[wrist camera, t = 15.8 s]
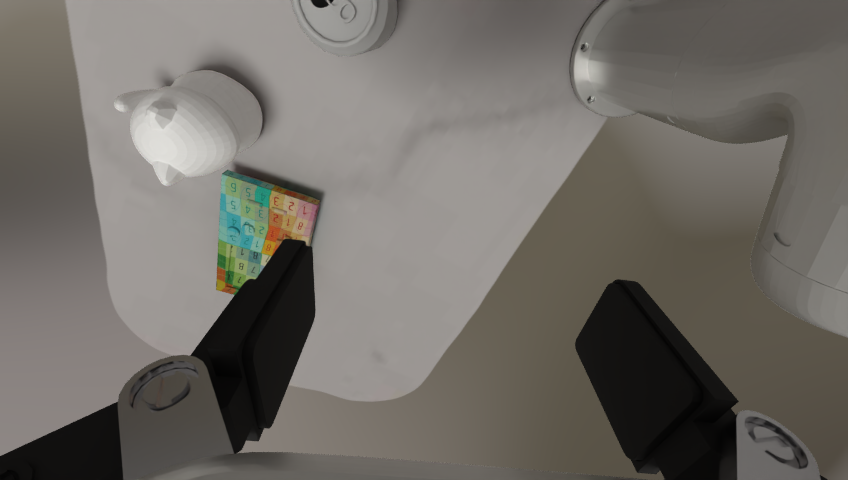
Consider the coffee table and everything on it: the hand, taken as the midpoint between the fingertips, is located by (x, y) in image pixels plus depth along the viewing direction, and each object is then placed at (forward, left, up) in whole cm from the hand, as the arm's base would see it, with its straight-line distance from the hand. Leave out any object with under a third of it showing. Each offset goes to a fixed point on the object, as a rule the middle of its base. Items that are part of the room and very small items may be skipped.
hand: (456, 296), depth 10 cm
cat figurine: (+25, +4, -34) cm, 42 cm away
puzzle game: (+21, +22, -34) cm, 46 cm away
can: (+9, -8, -34) cm, 36 cm away
